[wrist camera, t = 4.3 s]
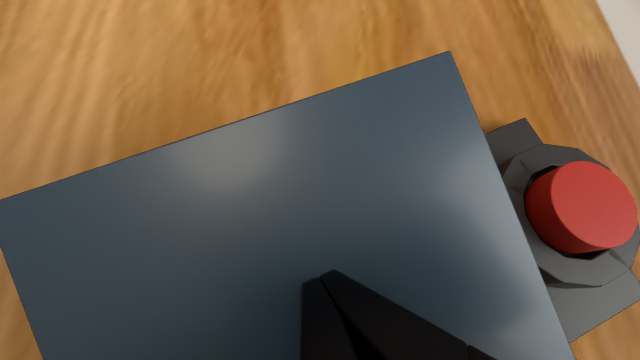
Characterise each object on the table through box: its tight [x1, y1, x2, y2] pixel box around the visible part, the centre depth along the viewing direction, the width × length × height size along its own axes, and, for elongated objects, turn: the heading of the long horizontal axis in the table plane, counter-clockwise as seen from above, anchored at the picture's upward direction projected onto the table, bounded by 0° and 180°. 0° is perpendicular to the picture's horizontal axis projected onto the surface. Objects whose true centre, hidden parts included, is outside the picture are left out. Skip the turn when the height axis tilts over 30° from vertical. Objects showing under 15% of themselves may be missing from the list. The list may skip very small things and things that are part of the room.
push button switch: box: [484, 118, 640, 343], centre depth 18 cm, size 11×7×3 cm
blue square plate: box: [0, 51, 576, 360], centre depth 8 cm, size 12×12×1 cm
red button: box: [525, 161, 638, 253], centre depth 16 cm, size 4×4×2 cm
